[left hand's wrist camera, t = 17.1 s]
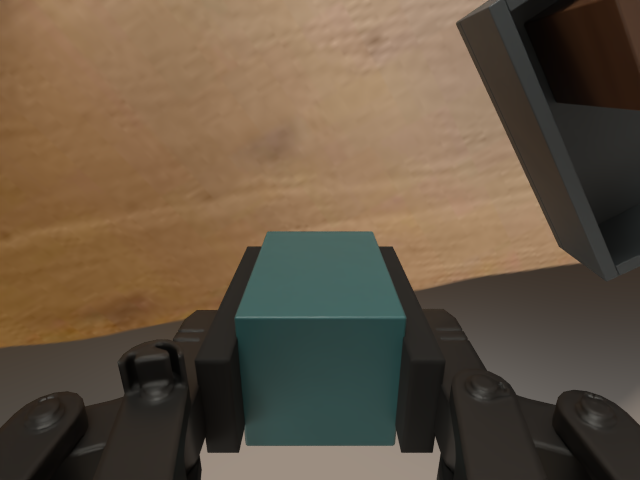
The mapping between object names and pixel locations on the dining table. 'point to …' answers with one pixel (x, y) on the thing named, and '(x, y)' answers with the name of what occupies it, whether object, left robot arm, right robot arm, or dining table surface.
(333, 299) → the teal block
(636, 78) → the walnut block
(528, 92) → the tray
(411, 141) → the dining table surface
